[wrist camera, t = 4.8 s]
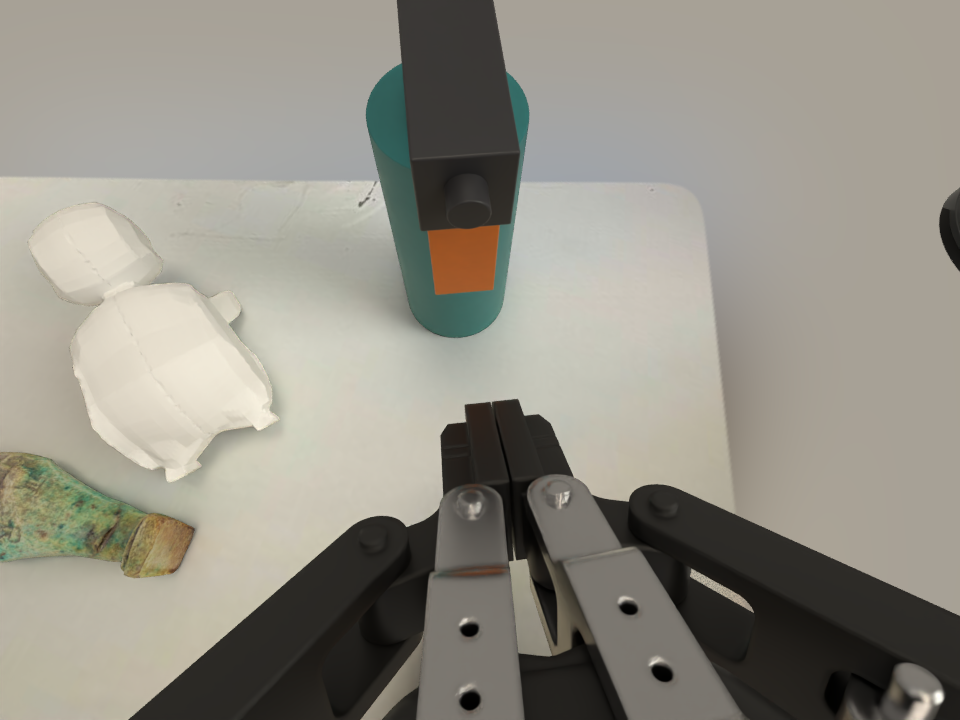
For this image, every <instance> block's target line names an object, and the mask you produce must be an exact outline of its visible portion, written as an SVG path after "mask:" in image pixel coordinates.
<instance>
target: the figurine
mask: <svg viewBox="0 0 960 720" xmlns="http://www.w3.org/2000/svg"><path fill="white" fill-rule="evenodd" d="M194 530H195V529H194V528H193V527H191V526H189V525H187V524H185V523H183V522H180V521H178V520H176V519H174V518H171V517H168V516H166V515H162V514H158V513H152V514H146V513H144V512H141V511H140V510H138V509H136V508H134V507H132V506H130V505H128V504H126V503H123V502H120V501H117V500H115V499H112V498H109V497H107V496H105V495H103V494H101V493H99V492H97V491H95V490H93V489H92V488H90V487H88V486H87V485H85V484H83V483H82V482H80V481H79V480H77V479H76V478H75V477H73V476H72V475H70V474H68V473H67V472H65V471H64V470H62V469H61V468H60V467H58V466H57V465H56V464H55V463H54V462H53V461H52V460H51V459H48V458H45V457H41V456H37V455H32V454H27V453H18V452H1V453H0V562H9V561H13V560H17V559H22V558H35V557H49V556H66V555H71V556H82V557H89V558H94V559H100V560H105V561H113V562H117V561H122V562H121V569H122V570H123V571H124V575H126V576H128V577H132V578H144V577H152V576H161V575H166V574H171V573H174V572H175V571H176V570H177V569H178V567H179V565H180V563H181V561H182V559H183V556H184V554H185V552H186V550H187V548H188V546H189V544H190V541H191V539H192V536H193V533H194Z"/></svg>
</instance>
